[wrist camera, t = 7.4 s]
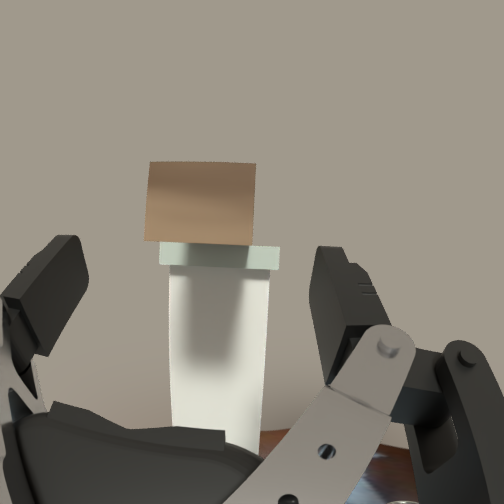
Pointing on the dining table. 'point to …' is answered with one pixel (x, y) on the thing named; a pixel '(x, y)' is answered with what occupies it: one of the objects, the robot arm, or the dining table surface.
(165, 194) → the beam
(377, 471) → the dining table surface
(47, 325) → the robot arm
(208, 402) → the pillar
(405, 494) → the dining table surface
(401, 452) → the dining table surface
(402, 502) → the soda can
